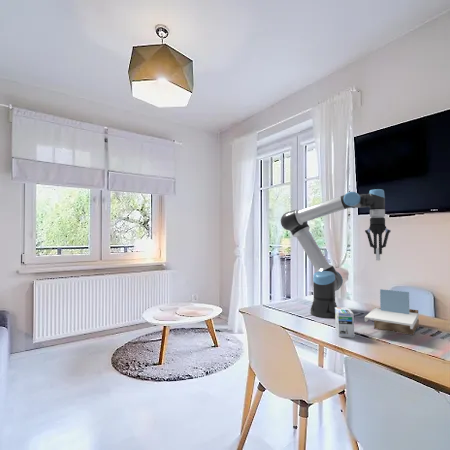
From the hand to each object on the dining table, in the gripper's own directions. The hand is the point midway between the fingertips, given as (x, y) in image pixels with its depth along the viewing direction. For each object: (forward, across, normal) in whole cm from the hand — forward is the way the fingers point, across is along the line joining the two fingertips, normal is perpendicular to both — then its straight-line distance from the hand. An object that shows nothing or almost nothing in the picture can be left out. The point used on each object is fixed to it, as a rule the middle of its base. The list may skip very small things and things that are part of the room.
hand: (378, 260), depth 170 cm
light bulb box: (+31, -6, -42) cm, 52 cm away
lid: (+24, +11, -28) cm, 39 cm away
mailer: (+30, +11, -16) cm, 36 cm away
